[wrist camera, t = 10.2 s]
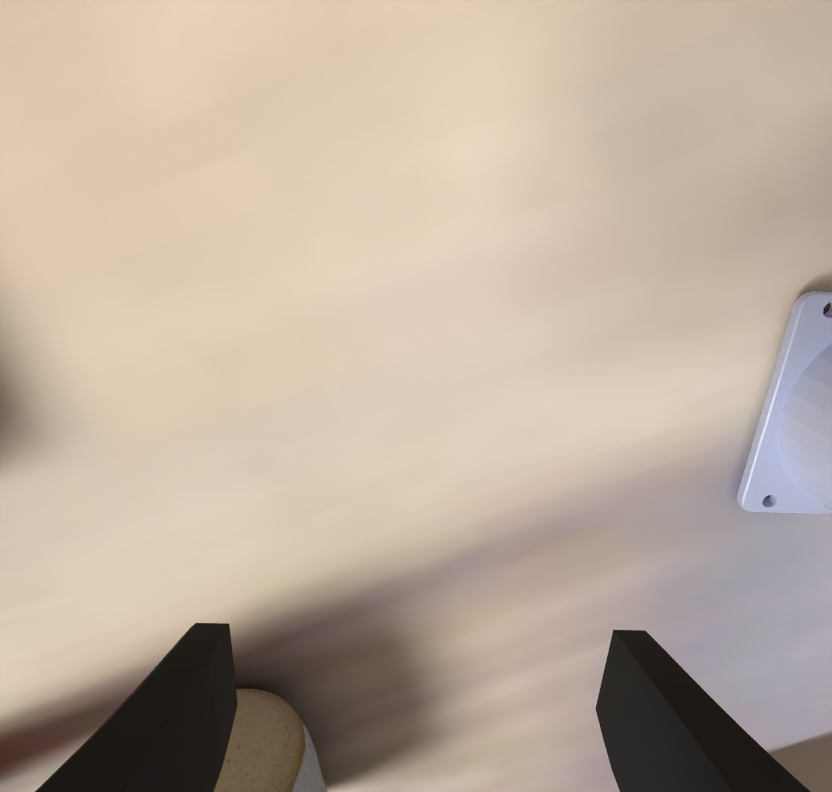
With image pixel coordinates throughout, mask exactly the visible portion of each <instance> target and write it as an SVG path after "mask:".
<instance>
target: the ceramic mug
mask: <svg viewBox="0 0 832 792" xmlns="http://www.w3.org/2000/svg"><path fill="white" fill-rule="evenodd" d="M236 693H237V702H238V706H237V710H236V714H235V718H234V722H233V727H232V731H231V735H230V739H229V743H228V747H227V751H226V755H225V759H224V762H223V766H222V769H221V772H220V775H219V778H218V781H217V784H216V787H215V789H214V792H327V790H326V786H325V783H324V780H323V777H322V774H321V770H320V766H319V762H318V758H317V754H316V750H315V748H314V745H313V742H312V739H311V737H310V734H309V732H308V730H307V729H306V727H305V725H304V724H303V722H302V720H301V718H300V717H299V715H298V713H297V712H296V711H295V710H294V709H293V708H292V706H291V705H290V704H289V703H287V702H286V701H285V700H284V699H283V698H282V697H280V696H278V695H275V694H273V693H270V692H267V691H264V690H260V689H247V688H243V689H236Z"/></svg>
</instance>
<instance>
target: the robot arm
mask: <svg viewBox="0 0 832 792" xmlns="http://www.w3.org/2000/svg"><path fill="white" fill-rule="evenodd" d="M829 302H830V303H831V306H830V309H829V311H828V312H827V313H825V314H823V309H824V307H825V306H826V305H827V304H828V303H829ZM768 495H770V496H769V498H768V499H767V500H765V501H763V499H764V498H765V497H766V496H768ZM737 501H738V503H739V504H740V505H741V506H742V507H743V508H744V509H745V510H747V511H750V512H780V513H821V514H832V292H819V291H812V292H806V293H805V294H803V295H801V296H800V297H799V298H798V299H797V300H796V302H795V304H794V306H793V309H792V312H791V315H790V319H789V322H788V326H787V329H786V332H785V336H784V339H783V342H782V346H781V349H780V353H779V356H778V359H777V363H776V366H775V369H774V373H773V376H772V380H771V383H770V386H769V390H768V393H767V396H766V400H765V403H764V406H763V410H762V413H761V417H760V420H759V423H758V427H757V430H756V433H755V437H754V440H753V444H752V447H751V450H750V454H749V457H748V460H747V464H746V467H745V471H744V474H743V477H742V481H741V484H740V487H739V491H738V494H737ZM237 706H238V702H237V693H236V683H235V674H234V665H233V655H232V646H231V636H230V627H229V624H218V623H196V624H194V625H193V626H192V627H191V628H190V629H189V630H188V631H187V632H186V633H185V635H184V636H183V637H182V638H181V639H180V640H179V641H178V643H177V644H176V645H175V646H174V647H173V648H172V649H171V650H170V652H169V653H168V654H167V655H166V656H165V657H164V658H163V660H162V661H161V662H160V663H159V664H158V665H157V666H156V667H155V669H154V670H153V671H152V672H151V673H150V674H149V675H148V676H147V677H146V679H145V680H144V681H143V682H142V683H141V684H140V685H139V686H138V687H137V688H136V690H135V691H134V692H133V693H132V694H131V695H130V696H129V697H128V698H127V699H126V700H125V701H124V702H123V703H122V704H121V706H120V707H119V708H118V709H117V710H116V711H115V712H114V713H113V714H112V715H111V716H110V717H109V718H108V719H107V720H106V721H105V723H104V724H103V725H102V726H101V727H100V728H99V729H98V730H97V731H96V732H95V733H94V734H93V735H92V736H91V737H90V738H89V739H88V740H87V741H86V742H85V743H84V744H83V745H82V746H81V747H80V748H79V749H78V750H77V751H76V752H75V753H74V754H73V755H72V756H71V757H70V758H69V759H68V760H67V761H66V762H65V763H64V764H63V765H62V766H61V767H60V768H59V769H58V770H57V771H56V772H55V773H54V774H53V775H52V776H51V777H50V778H49V779H48V780H47V781H46V782H45V783H44V784H43V785H42V786H41V787H39V788H38V789H37V790H36V791H35V792H214V789H215V787H216V784H217V781H218V778H219V775H220V772H221V769H222V766H223V762H224V759H225V755H226V751H227V747H228V743H229V739H230V735H231V731H232V727H233V722H234V718H235V714H236V710H237ZM596 712H597V716H598V719H599V723H600V727H601V731H602V735H603V739H604V743H605V746H606V750H607V754H608V757H609V761H610V764H611V768H612V771H613V774H614V776H615V779H616V782H617V785H618V787H619V790H620V792H810V791H809V790H808V789H807V788H806V787H804V786H803V785H802V784H801V783H800V782H799V781H798V780H797V779H795V778H794V777H793V776H792V775H791V774H790V773H789V772H788V771H787V770H786V769H784V767H782V766H781V765H780V764H779V763H778V762H777V761H776V760H775V759H774V758H773V757H772V756H770V755H769V754H768V753H767V752H766V751H765V750H764V749H763V748H762V747H761V746H760V745H759V744H758V743H757V742H756V741H755V740H754V739H753V738H752V737H751V736H750V735H748V734H747V733H746V732H745V731H744V730H743V729H742V728H741V727H740V726H739V725H738V724H737V723H736V722H735V721H734V720H733V719H732V718H731V717H730V716H729V715H728V714H727V713H726V712H725V711H724V710H723V709H722V708H721V707H720V706H719V705H718V704H717V703H716V702H715V701H714V700H713V699H712V698H711V697H710V696H709V695H708V694H707V693H706V692H705V691H704V690H703V689H702V688H701V687H700V686H699V685H698V684H697V683H696V682H695V681H694V680H693V679H692V678H691V677H690V676H689V675H688V674H687V673H686V672H685V671H684V670H683V669H682V668H681V666H680V665H679V664H678V663H677V662H676V661H675V660H674V659H673V658H672V657H671V656H670V655H669V654H668V653H667V652H666V651H665V650H664V649H663V648H662V647H661V646H660V645H659V644H658V643H657V642H656V641H655V640H654V639H653V638H652V637H651V636H650V635H649V634H648V633H647V632H646V631H640V630H613V634H612V638H611V643H610V647H609V652H608V656H607V661H606V665H605V670H604V674H603V679H602V683H601V688H600V692H599V696H598V701H597V705H596Z"/></svg>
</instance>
